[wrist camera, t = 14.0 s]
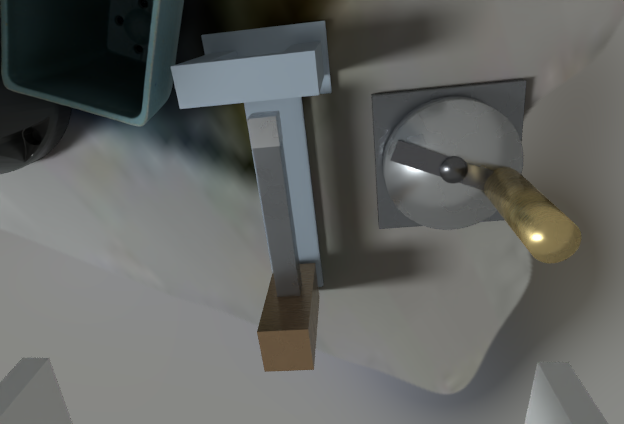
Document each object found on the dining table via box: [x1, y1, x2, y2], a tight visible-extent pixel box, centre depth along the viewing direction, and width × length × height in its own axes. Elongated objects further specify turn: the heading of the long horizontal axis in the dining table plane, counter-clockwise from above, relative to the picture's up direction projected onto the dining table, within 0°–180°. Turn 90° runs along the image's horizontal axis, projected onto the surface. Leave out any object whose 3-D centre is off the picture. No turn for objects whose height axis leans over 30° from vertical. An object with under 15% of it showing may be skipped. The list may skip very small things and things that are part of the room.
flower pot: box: [0, 0, 184, 126], centre depth 29 cm, size 9×9×9 cm
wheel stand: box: [372, 79, 526, 229], centre depth 35 cm, size 11×11×1 cm
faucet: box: [383, 96, 581, 263], centre depth 30 cm, size 10×10×11 cm
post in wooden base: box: [247, 110, 319, 372], centre depth 33 cm, size 18×4×9 cm, turn 6°
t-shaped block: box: [170, 21, 332, 287], centre depth 33 cm, size 22×9×9 cm, turn 6°
